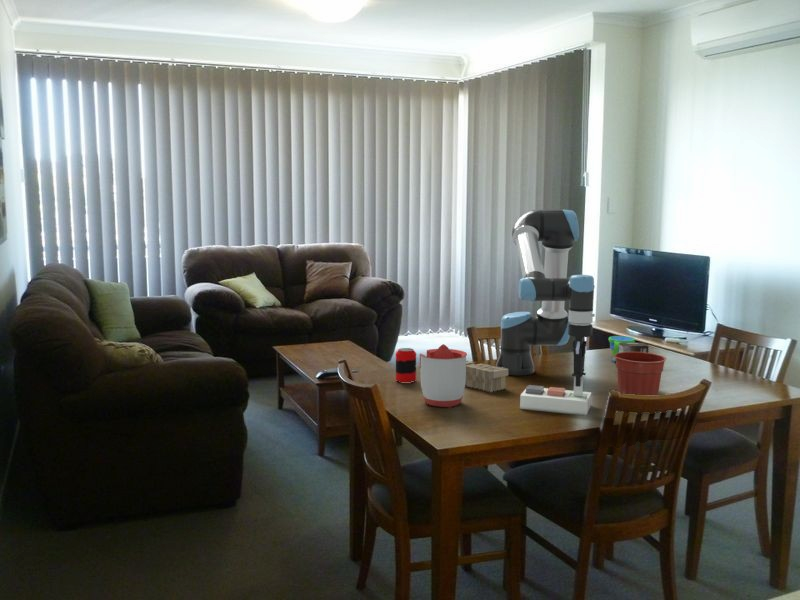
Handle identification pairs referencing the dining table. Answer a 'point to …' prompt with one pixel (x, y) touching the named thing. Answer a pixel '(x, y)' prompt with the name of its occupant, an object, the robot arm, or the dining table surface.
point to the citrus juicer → (443, 376)
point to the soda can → (405, 365)
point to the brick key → (556, 391)
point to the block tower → (485, 376)
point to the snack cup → (615, 344)
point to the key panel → (556, 402)
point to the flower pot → (639, 372)
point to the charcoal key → (535, 389)
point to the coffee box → (633, 347)
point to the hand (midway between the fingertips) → (578, 395)
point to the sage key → (578, 396)
